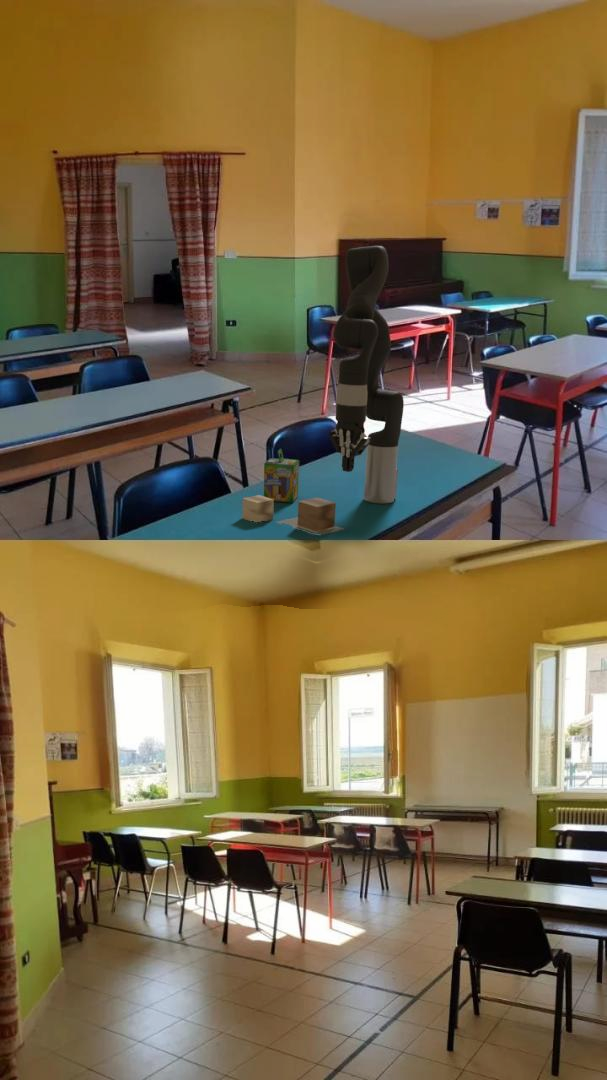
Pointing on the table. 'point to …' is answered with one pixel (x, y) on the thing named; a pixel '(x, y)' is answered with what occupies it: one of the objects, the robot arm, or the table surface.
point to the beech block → (258, 508)
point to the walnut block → (316, 514)
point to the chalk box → (281, 479)
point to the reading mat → (294, 522)
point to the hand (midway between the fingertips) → (347, 470)
